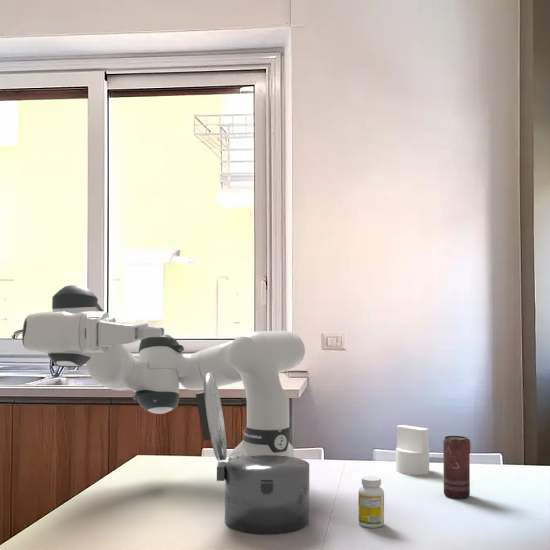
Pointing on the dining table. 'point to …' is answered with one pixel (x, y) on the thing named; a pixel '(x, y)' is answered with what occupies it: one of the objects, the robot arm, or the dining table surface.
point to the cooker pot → (265, 493)
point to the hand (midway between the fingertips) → (162, 332)
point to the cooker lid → (212, 416)
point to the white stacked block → (412, 450)
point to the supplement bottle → (371, 502)
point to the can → (456, 467)
